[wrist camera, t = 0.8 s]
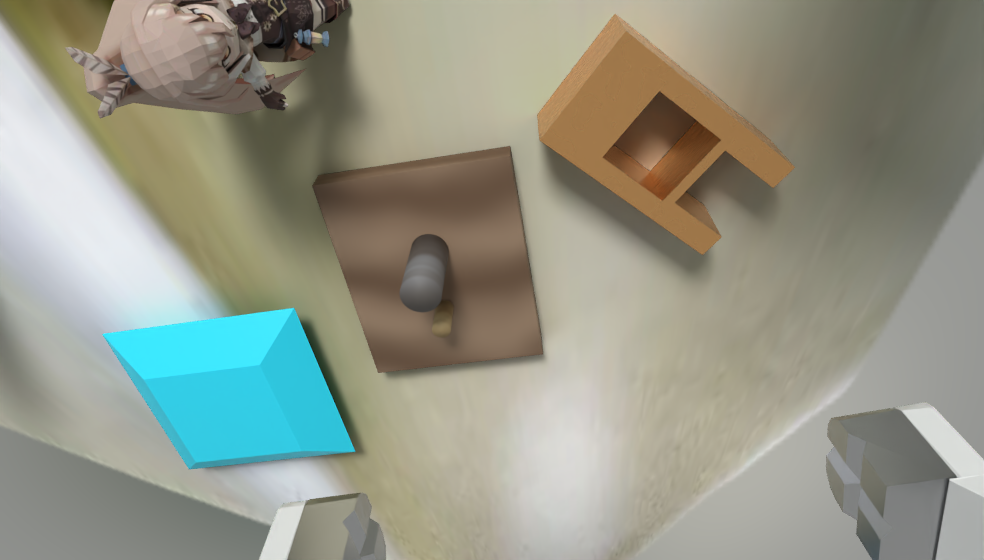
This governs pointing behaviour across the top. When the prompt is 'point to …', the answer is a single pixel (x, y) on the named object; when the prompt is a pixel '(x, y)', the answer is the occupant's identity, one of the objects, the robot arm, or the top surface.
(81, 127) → the top surface
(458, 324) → the flange base
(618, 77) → the wooden notched block
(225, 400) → the prism
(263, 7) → the toy
